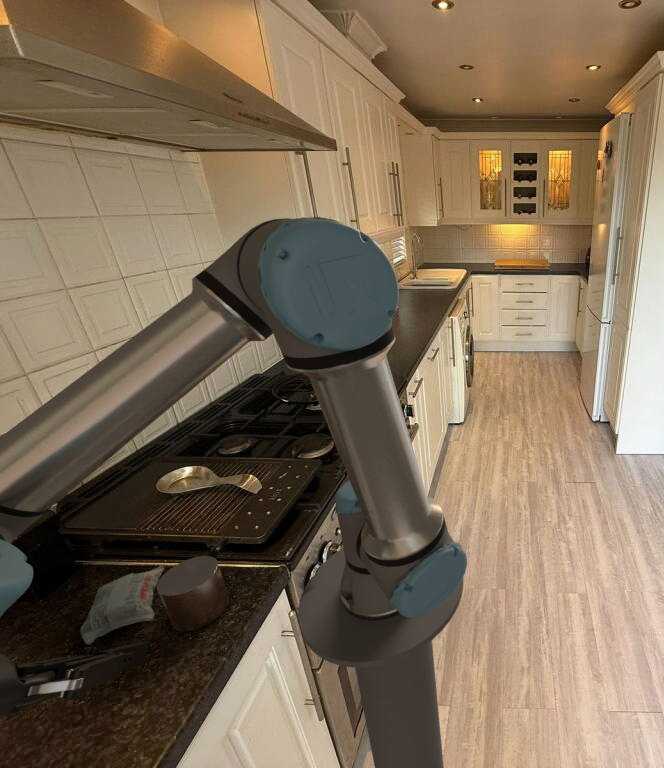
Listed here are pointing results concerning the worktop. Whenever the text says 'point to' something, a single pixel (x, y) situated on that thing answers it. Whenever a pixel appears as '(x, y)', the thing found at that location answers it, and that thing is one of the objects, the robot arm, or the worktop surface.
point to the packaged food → (121, 604)
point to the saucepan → (194, 591)
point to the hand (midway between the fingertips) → (140, 653)
